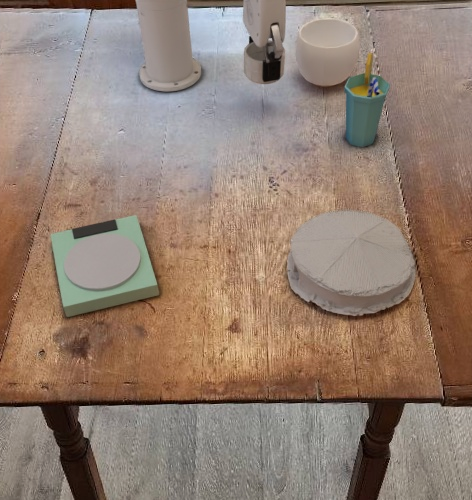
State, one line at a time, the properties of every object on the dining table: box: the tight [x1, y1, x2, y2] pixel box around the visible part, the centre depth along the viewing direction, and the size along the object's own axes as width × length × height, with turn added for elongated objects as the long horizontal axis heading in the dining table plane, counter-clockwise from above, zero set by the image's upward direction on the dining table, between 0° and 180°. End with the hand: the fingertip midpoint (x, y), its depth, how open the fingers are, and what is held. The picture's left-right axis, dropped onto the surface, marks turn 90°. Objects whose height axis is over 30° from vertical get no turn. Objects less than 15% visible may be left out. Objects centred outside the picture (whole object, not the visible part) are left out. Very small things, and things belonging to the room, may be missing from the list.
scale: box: [50, 214, 160, 318], centre depth 105 cm, size 16×14×3 cm
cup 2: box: [344, 52, 391, 148], centre depth 117 cm, size 14×8×15 cm, turn 2°
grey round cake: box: [286, 207, 417, 317], centre depth 101 cm, size 20×20×7 cm
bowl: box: [243, 39, 286, 85], centre depth 123 cm, size 7×7×4 cm
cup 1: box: [294, 17, 361, 88], centre depth 132 cm, size 12×12×10 cm
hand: (264, 67), depth 124 cm, fingers closed on bowl, 7 cm apart
